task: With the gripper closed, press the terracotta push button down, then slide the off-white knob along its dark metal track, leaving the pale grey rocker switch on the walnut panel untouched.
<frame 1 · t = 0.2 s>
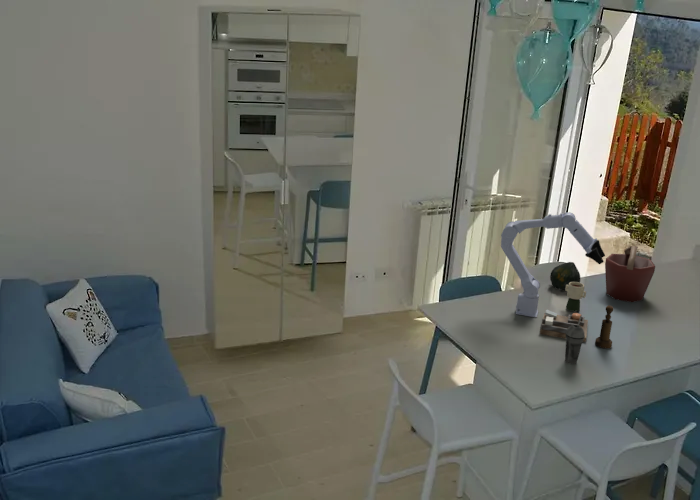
hand: (602, 259, 300), 31 cm above the table, tool tilted 45°, fingers open, 7 cm apart
rocker switch: (551, 313, 311), point 3 cm above the table, hinge at 12.0°
beverage cup: (570, 361, 275), on the table
squash: (563, 288, 352), on the table
bucket: (625, 296, 345), on the table
brown chess piece: (603, 345, 290), on the table
push button: (576, 316, 307), point 4 cm above the table, slide at 0.0 cm
panel: (564, 328, 304), on the table
character mug: (572, 310, 325), on the table
slider knob: (549, 322, 300), point 4 cm above the table, slide at 0.0 cm
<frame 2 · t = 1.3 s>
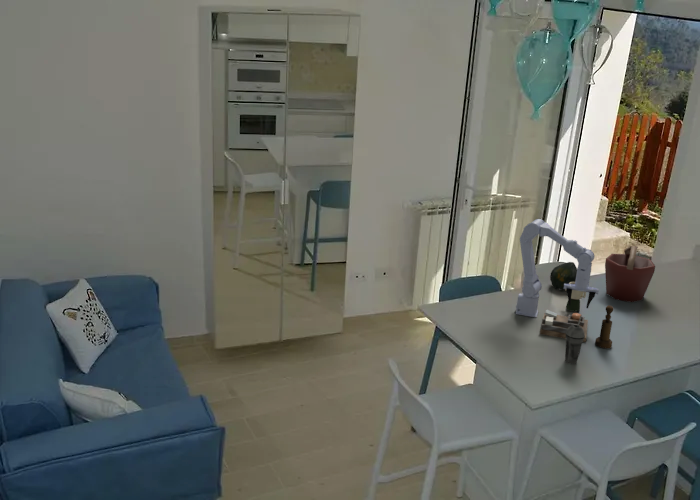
hand: (578, 306, 305), 9 cm above the table, tool pointing down, fingers open, 7 cm apart
nothing on the table moved.
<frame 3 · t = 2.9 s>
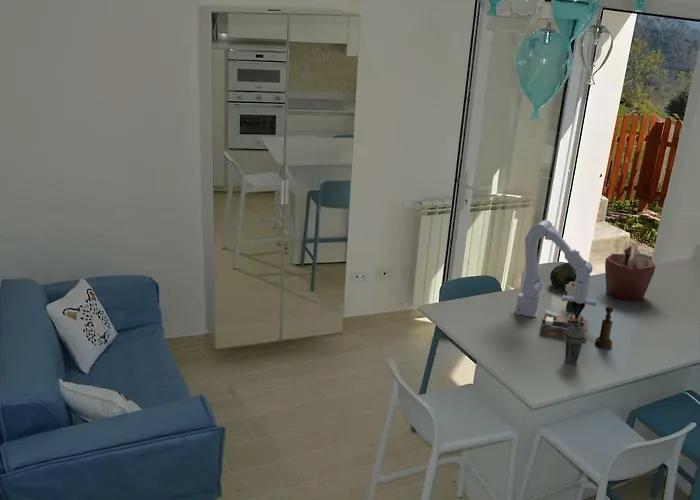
hand: (576, 317, 307), 4 cm above the table, tool pointing down, fingers closed, pressing on push button
push button: (576, 319, 307), point 3 cm above the table, slide at 1.4 cm, touching gripper
everything else where it was.
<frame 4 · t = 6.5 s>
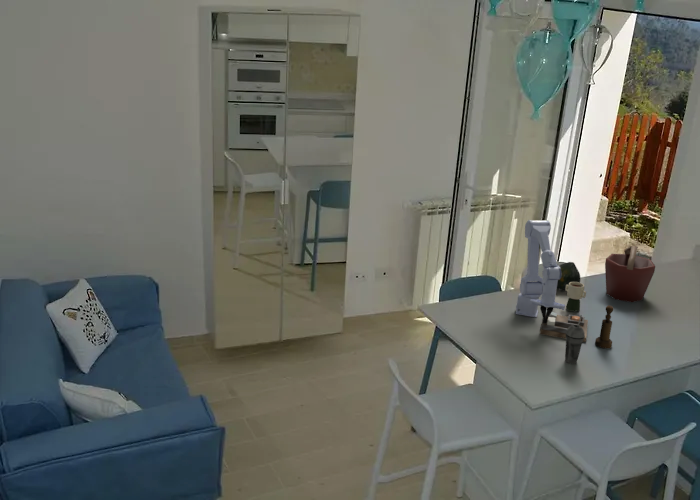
hand: (544, 322, 300), 4 cm above the table, tool pointing down, fingers closed
push button: (576, 319, 307), point 3 cm above the table, slide at 1.4 cm
slider knob: (551, 323, 299), point 4 cm above the table, slide at 0.9 cm, touching gripper
everything else where it was.
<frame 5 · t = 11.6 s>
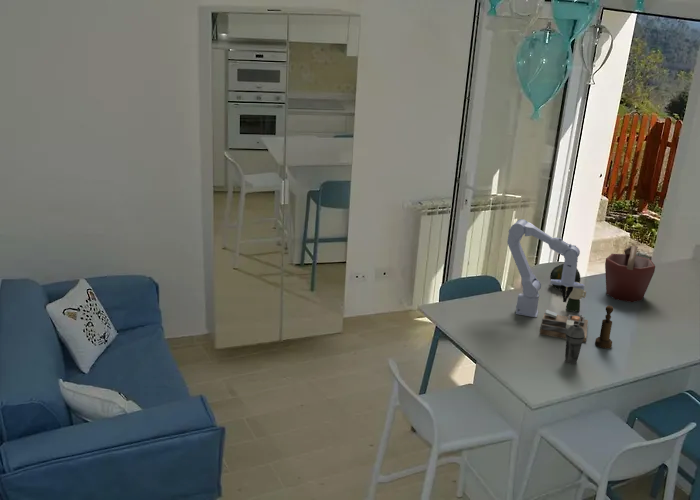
hand: (564, 301, 309), 9 cm above the table, tool pointing down, fingers closed
slider knob: (569, 326, 297), point 4 cm above the table, slide at 8.6 cm
everything else where it was.
at the end: push button slide at 1.4 cm; slider knob slide at 8.6 cm; rocker switch at +12° (first picture: +12°) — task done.
